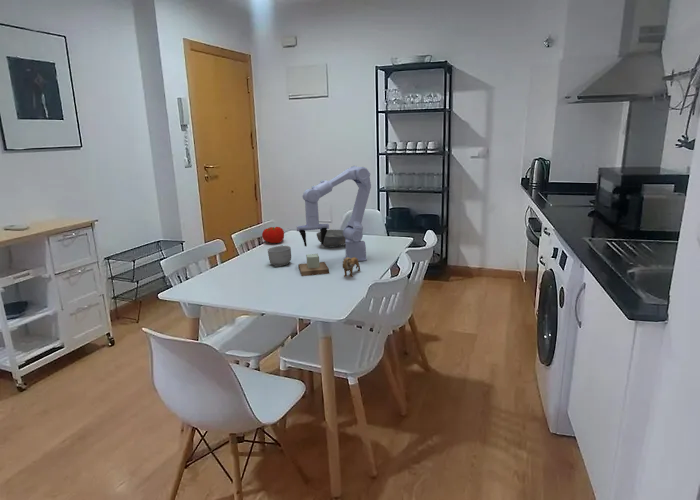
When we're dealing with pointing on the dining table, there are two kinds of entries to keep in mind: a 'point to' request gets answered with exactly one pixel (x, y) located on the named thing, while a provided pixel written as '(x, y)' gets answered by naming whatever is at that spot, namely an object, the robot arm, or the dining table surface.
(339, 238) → the bowl
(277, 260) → the teacup
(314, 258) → the block
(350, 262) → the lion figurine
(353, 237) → the robot arm
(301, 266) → the base
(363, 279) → the dining table surface
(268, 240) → the tomato
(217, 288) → the dining table surface
